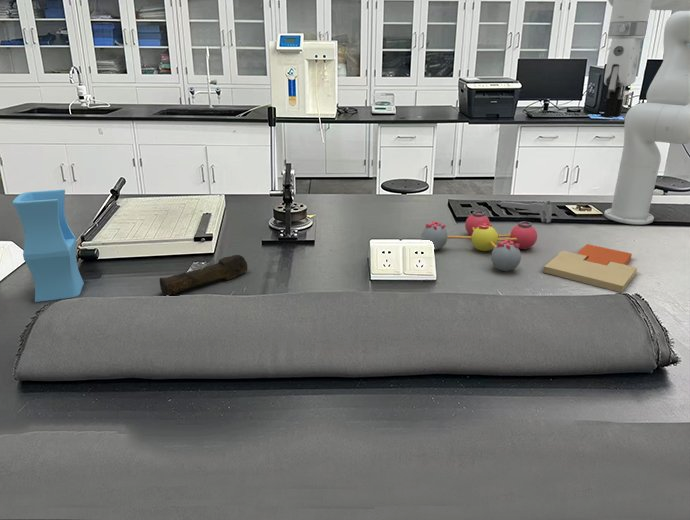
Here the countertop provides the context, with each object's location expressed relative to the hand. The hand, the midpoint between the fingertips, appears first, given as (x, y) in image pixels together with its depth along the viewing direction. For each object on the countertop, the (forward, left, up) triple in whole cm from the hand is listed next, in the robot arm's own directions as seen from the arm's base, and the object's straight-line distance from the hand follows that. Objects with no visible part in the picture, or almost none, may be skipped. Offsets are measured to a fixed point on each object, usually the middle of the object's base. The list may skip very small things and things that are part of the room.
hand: (611, 116), depth 124 cm
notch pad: (+23, +7, -31) cm, 39 cm away
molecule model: (+25, -17, -31) cm, 43 cm away
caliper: (-9, -21, -31) cm, 39 cm away
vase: (+100, -74, -31) cm, 128 cm away
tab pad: (+14, +7, -30) cm, 34 cm away
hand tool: (+79, -54, -31) cm, 101 cm away
